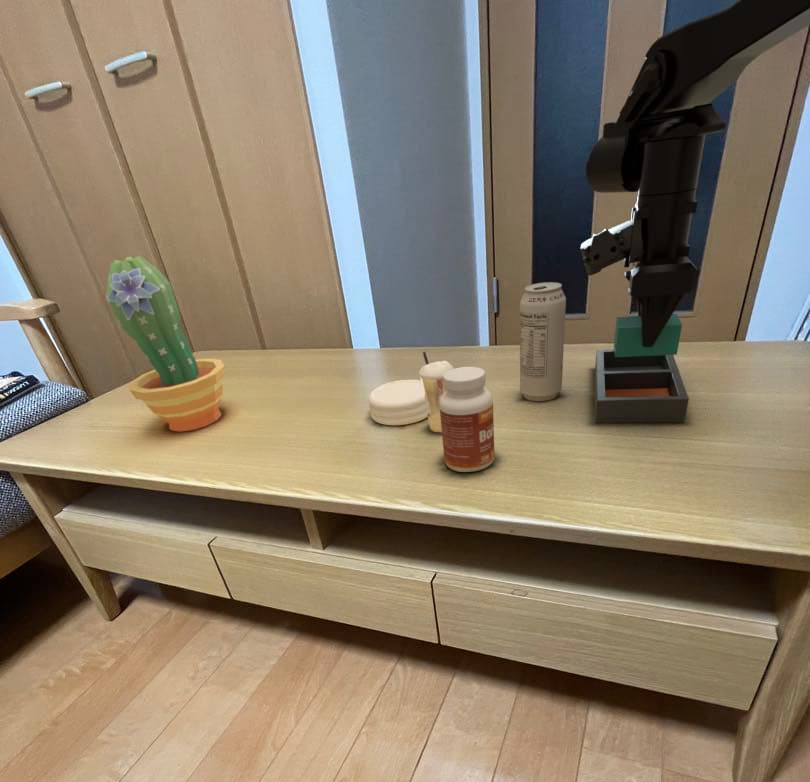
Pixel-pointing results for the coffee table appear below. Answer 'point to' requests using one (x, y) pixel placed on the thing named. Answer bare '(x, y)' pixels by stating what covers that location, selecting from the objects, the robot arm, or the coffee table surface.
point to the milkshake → (433, 389)
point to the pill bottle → (467, 420)
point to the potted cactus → (164, 348)
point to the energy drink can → (542, 340)
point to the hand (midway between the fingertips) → (645, 339)
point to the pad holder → (638, 389)
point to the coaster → (398, 403)
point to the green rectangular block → (631, 338)
